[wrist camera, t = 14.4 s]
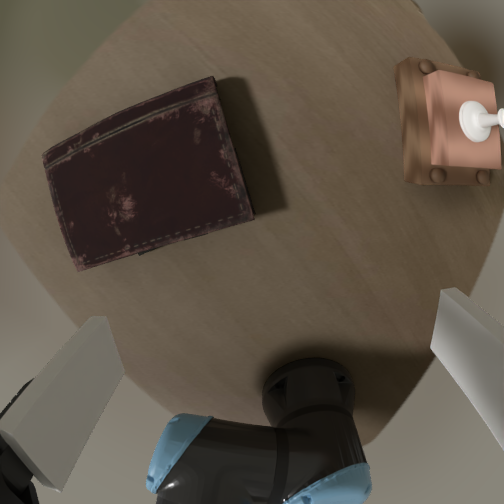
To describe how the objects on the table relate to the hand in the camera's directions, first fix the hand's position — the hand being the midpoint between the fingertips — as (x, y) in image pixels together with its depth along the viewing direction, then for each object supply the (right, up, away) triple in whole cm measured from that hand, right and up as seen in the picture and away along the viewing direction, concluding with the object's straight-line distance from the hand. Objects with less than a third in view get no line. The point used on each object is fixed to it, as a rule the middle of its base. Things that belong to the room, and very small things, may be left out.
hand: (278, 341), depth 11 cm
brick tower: (+25, +21, +23) cm, 40 cm away
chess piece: (+24, +18, +15) cm, 34 cm away
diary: (-15, +13, +27) cm, 34 cm away
